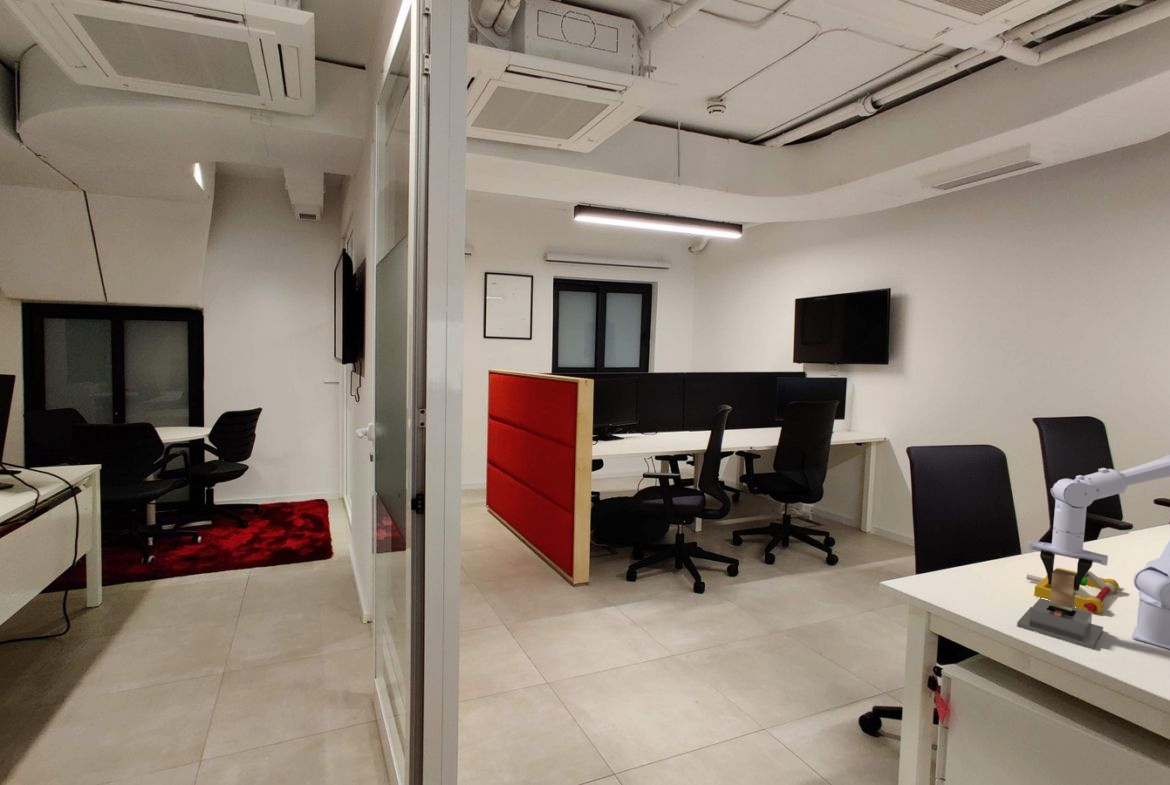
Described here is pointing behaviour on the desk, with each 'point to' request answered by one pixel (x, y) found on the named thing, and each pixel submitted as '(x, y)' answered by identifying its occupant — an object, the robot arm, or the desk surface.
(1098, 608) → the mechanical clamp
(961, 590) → the desk surface
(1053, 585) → the oak post
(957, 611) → the desk surface
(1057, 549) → the robot arm
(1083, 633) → the metal sleeve
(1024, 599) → the desk surface
